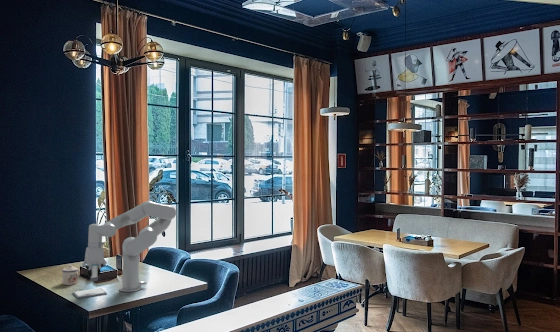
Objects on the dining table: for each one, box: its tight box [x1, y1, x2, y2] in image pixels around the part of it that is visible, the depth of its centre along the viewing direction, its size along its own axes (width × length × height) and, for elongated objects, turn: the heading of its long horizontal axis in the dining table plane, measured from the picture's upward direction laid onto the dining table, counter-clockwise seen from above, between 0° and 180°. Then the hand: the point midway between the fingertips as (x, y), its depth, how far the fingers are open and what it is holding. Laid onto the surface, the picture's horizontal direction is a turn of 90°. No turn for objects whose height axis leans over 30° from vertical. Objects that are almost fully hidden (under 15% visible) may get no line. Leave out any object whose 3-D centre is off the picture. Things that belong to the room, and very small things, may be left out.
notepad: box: [72, 287, 108, 300], centre depth 272 cm, size 16×12×1 cm
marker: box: [89, 264, 99, 282], centre depth 274 cm, size 4×4×12 cm
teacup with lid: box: [61, 264, 81, 286], centre depth 294 cm, size 12×9×12 cm
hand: (94, 275), depth 274 cm, fingers closed on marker, 3 cm apart
